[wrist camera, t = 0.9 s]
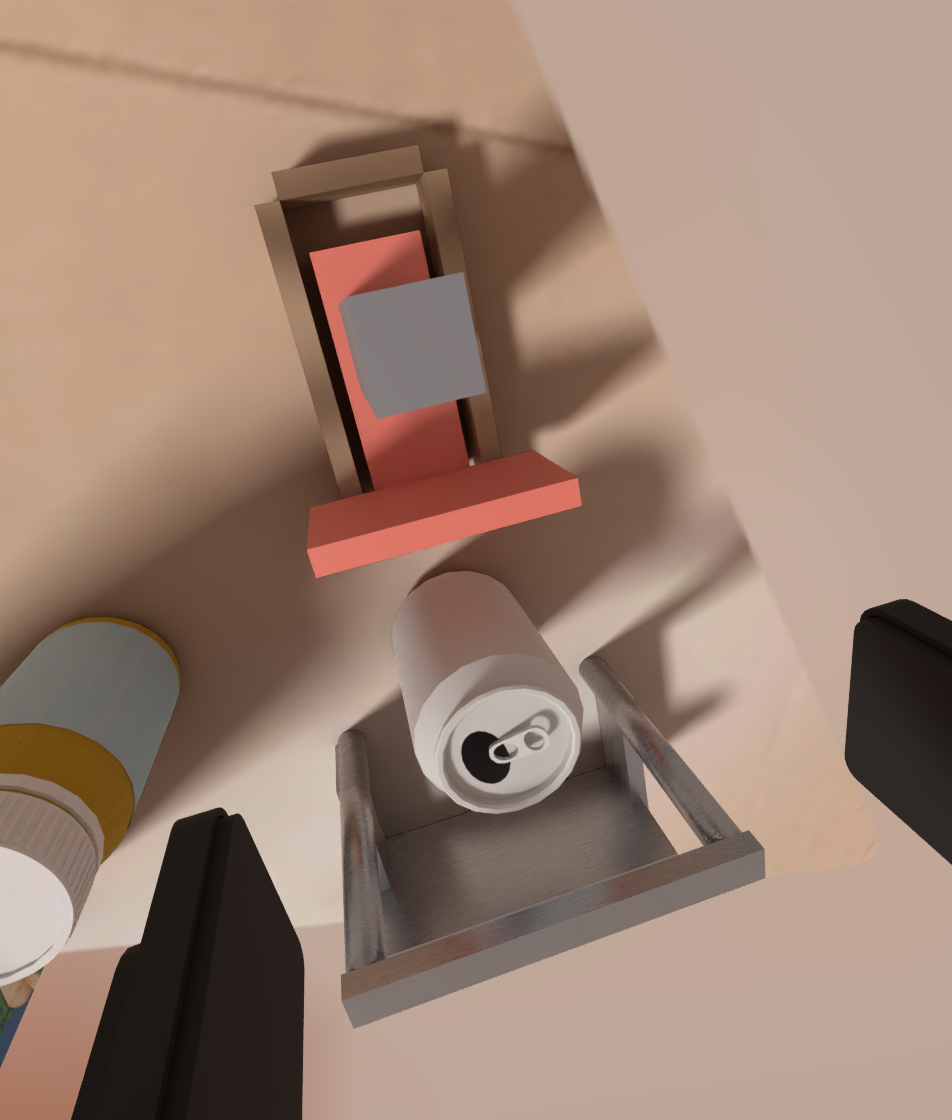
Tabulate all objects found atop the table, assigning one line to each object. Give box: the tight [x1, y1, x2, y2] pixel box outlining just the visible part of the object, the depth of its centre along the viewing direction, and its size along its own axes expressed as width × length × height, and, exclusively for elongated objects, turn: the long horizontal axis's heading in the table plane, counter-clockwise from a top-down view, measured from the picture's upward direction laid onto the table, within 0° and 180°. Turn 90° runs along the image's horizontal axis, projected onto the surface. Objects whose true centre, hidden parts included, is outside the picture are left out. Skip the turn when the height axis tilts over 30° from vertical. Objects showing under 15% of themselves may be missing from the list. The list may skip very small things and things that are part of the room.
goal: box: [335, 657, 765, 1028], centre depth 33 cm, size 10×17×16 cm, turn 102°
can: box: [392, 571, 583, 814], centre depth 31 cm, size 8×8×12 cm
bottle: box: [0, 617, 181, 986], centre depth 26 cm, size 7×7×15 cm
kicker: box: [307, 230, 582, 578], centre depth 26 cm, size 12×11×12 cm
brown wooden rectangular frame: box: [254, 145, 502, 499], centre depth 30 cm, size 16×8×2 cm, turn 12°
